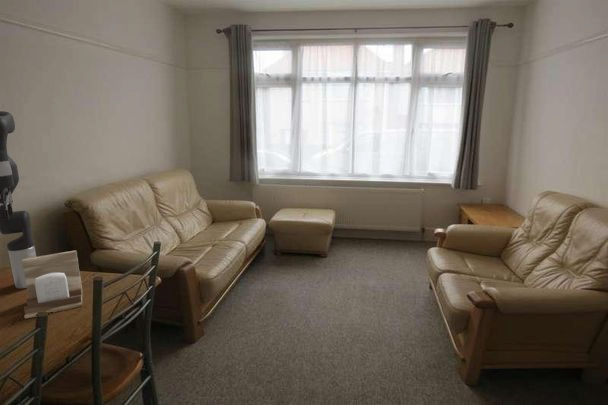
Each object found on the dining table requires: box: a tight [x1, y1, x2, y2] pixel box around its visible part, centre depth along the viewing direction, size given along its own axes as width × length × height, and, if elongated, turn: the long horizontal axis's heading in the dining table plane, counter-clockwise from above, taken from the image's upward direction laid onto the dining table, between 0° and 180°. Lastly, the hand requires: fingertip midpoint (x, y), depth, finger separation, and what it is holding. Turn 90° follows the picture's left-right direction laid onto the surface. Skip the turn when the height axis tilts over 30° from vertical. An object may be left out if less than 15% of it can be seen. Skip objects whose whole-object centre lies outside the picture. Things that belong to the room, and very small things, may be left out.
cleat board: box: [22, 250, 83, 319], centre depth 143 cm, size 16×18×18 cm
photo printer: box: [35, 273, 69, 303], centre depth 142 cm, size 10×4×12 cm, turn 122°
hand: (7, 218), depth 134 cm, fingers open, 8 cm apart
